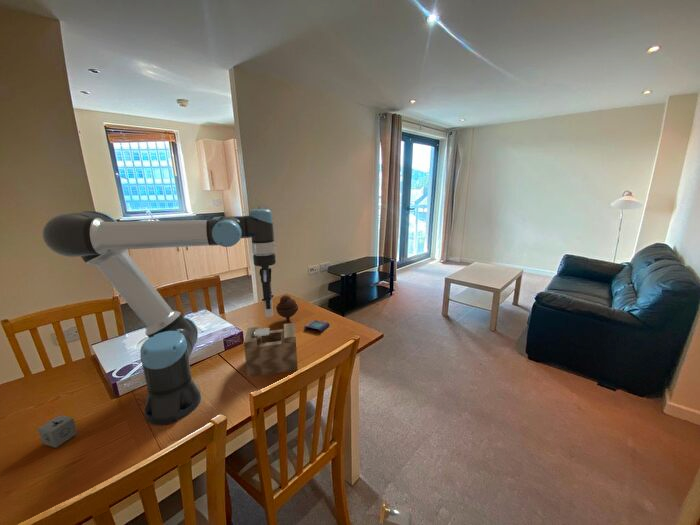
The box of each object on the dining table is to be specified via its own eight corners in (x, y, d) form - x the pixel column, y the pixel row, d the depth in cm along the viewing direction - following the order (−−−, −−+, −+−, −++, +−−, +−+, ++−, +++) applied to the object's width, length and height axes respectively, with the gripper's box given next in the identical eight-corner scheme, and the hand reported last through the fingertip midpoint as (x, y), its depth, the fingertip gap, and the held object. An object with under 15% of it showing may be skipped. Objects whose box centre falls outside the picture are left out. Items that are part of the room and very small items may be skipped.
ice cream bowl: (273, 327, 146) (270, 299, 142) (284, 318, 156) (282, 291, 153) (292, 330, 143) (290, 301, 139) (302, 320, 153) (301, 293, 150)
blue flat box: (303, 325, 140) (315, 318, 149) (303, 331, 140) (315, 323, 150) (320, 329, 136) (331, 321, 145) (320, 335, 136) (331, 327, 146)
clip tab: (252, 337, 108) (252, 335, 107) (253, 331, 112) (253, 329, 112) (269, 335, 109) (268, 332, 109) (269, 329, 113) (269, 327, 113)
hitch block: (247, 377, 107) (243, 342, 104) (250, 359, 118) (247, 327, 115) (297, 369, 111) (295, 336, 107) (296, 353, 122) (294, 322, 119)
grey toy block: (55, 447, 78) (51, 431, 77) (42, 443, 79) (38, 428, 78) (77, 433, 83) (73, 418, 82) (64, 429, 84) (60, 414, 83)
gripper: (274, 256, 99) (279, 322, 104) (275, 249, 112) (279, 307, 117) (251, 258, 97) (257, 324, 102) (254, 250, 110) (260, 309, 115)
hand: (269, 315), depth 110 cm, fingers closed
